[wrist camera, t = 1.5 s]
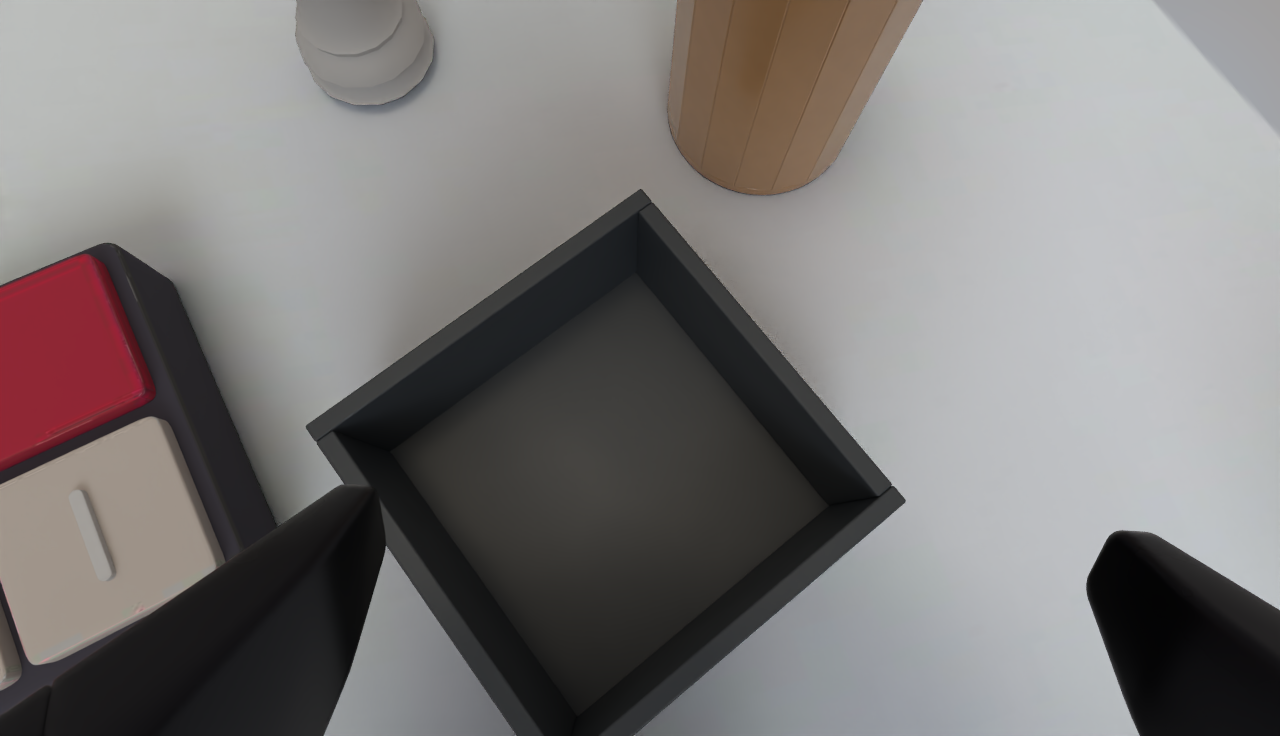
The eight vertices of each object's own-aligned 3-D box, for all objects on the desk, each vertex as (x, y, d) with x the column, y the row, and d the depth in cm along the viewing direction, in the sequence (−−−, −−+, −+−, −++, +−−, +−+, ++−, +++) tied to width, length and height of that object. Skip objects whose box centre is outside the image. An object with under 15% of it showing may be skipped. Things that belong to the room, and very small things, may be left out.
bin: (846, 509, 22) (907, 501, 18) (575, 738, 21) (559, 799, 16) (638, 258, 24) (641, 187, 19) (373, 450, 23) (303, 425, 18)
